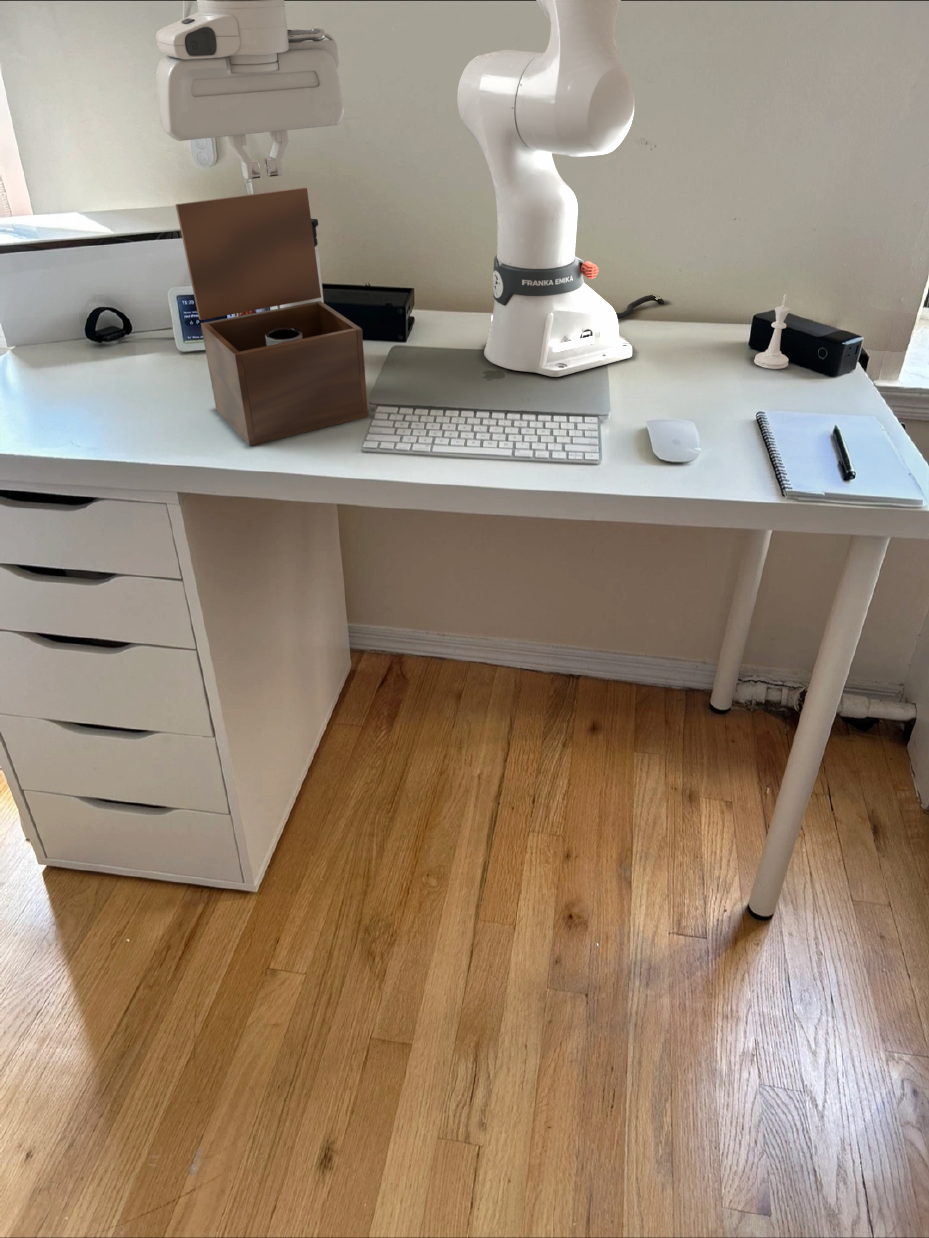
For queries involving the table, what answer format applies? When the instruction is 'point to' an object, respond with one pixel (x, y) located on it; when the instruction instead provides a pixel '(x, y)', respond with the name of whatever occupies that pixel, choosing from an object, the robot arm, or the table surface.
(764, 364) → the chess piece
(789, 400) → the table surface
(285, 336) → the gray cylinder
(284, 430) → the storage box
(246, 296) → the box lid
